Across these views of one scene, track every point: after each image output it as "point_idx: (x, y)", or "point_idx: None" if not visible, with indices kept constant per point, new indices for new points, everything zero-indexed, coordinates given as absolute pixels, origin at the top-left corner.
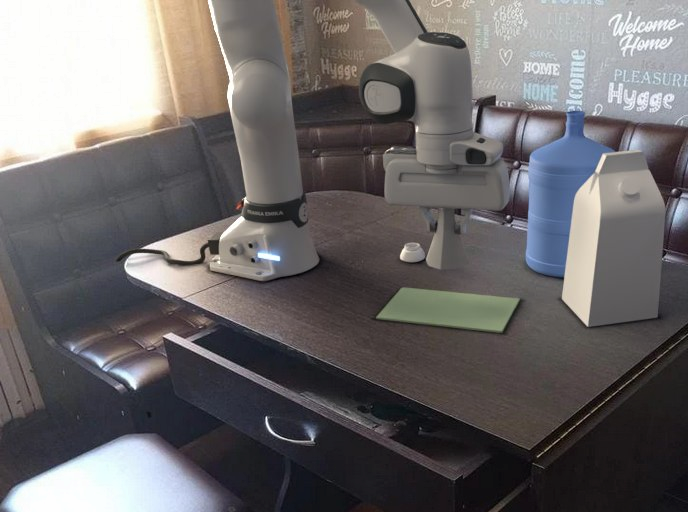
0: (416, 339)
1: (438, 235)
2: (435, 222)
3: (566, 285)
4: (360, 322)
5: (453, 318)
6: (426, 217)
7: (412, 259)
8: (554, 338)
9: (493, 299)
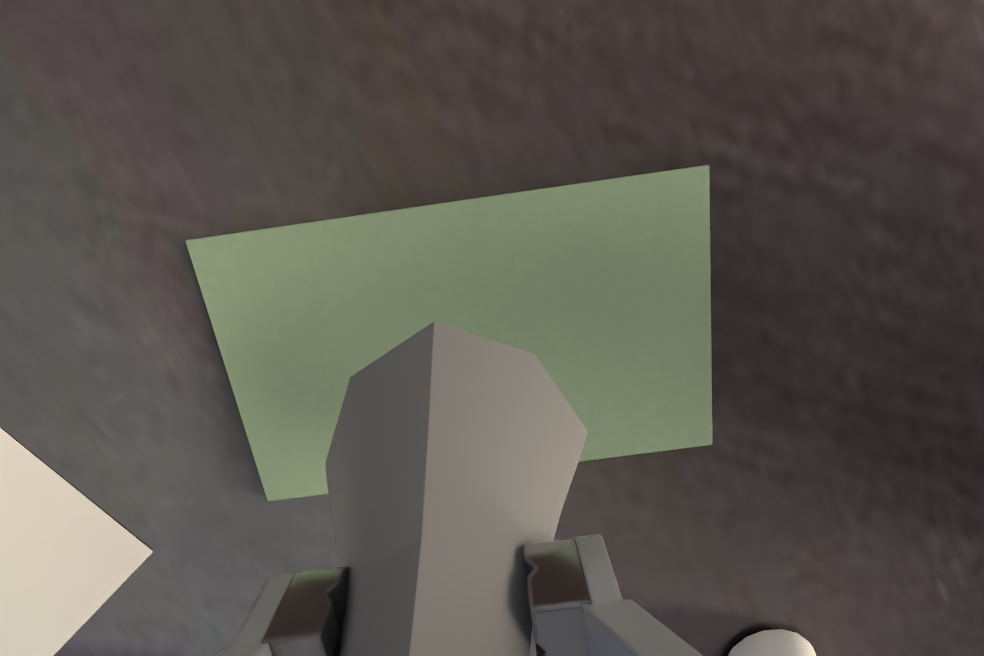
0: (466, 54)
1: (478, 508)
2: (539, 632)
3: (84, 582)
4: (759, 110)
5: (406, 271)
6: (637, 649)
7: (759, 642)
8: (5, 273)
9: None
